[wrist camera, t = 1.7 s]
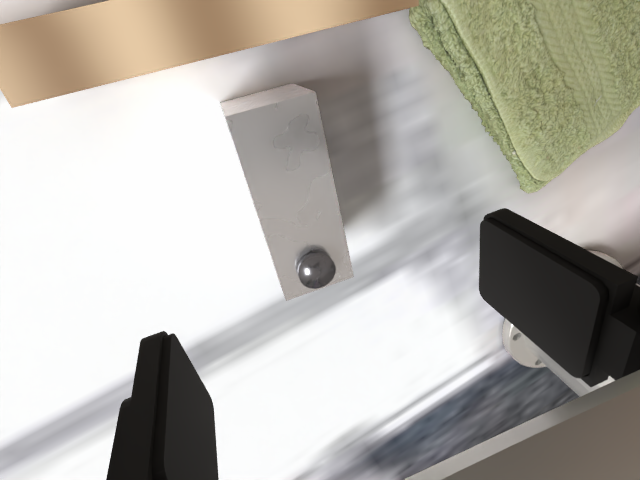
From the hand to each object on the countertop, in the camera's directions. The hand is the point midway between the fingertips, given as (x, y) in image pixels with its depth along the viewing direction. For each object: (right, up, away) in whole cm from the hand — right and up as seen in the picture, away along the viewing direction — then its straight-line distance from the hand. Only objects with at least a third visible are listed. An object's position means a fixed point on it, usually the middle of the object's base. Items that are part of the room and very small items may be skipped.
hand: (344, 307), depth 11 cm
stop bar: (-3, +6, +12) cm, 13 cm away
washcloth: (+13, +15, +13) cm, 23 cm away
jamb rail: (-6, +12, +7) cm, 15 cm away
